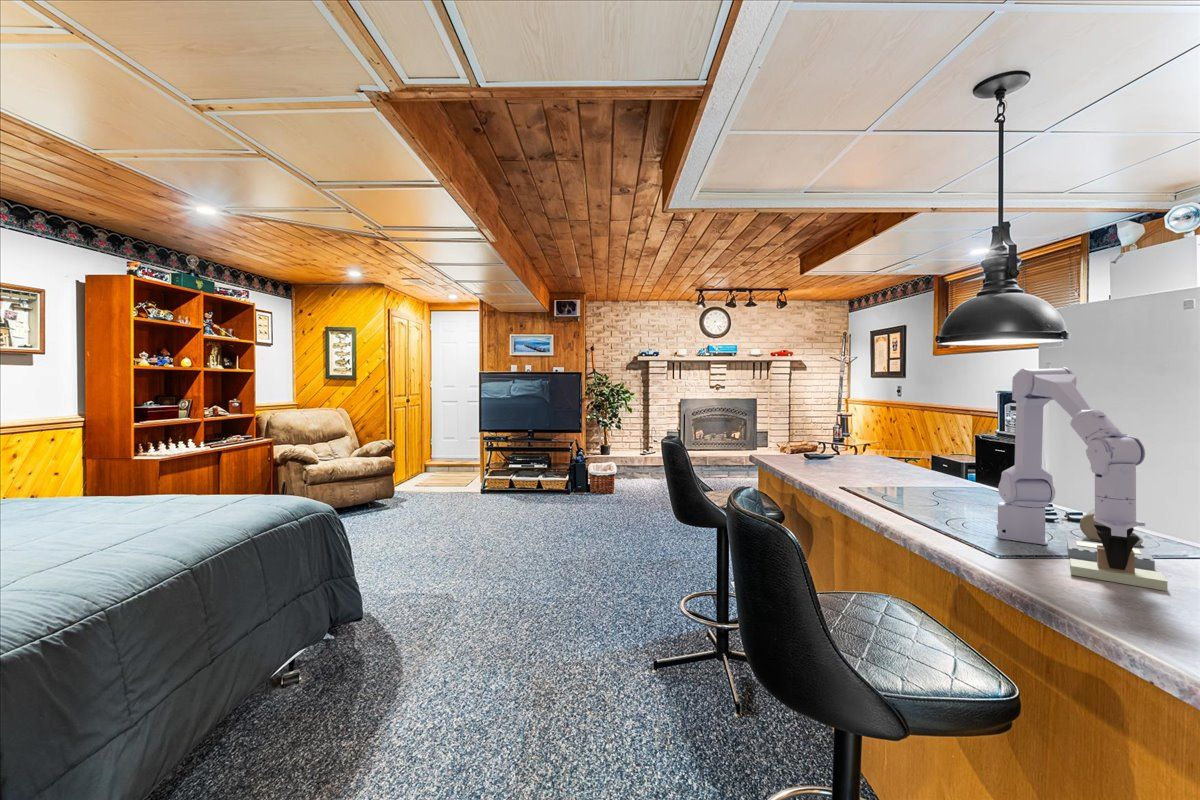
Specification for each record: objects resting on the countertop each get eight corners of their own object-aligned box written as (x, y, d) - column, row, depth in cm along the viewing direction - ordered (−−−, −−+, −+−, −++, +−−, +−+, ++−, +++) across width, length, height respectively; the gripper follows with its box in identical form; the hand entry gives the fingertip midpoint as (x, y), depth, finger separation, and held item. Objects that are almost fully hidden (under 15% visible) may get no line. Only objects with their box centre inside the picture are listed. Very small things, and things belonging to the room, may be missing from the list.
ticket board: (1068, 557, 111) (1068, 547, 111) (1067, 546, 118) (1067, 537, 118) (1154, 570, 102) (1154, 560, 102) (1147, 558, 110) (1147, 548, 110)
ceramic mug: (1077, 539, 125) (1078, 509, 124) (1086, 533, 129) (1086, 504, 129) (1138, 550, 116) (1139, 518, 116) (1146, 543, 120) (1146, 512, 120)
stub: (1071, 574, 100) (1070, 546, 100) (1070, 566, 105) (1069, 539, 105) (1167, 590, 92) (1167, 560, 92) (1161, 581, 96) (1161, 552, 96)
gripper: (1150, 506, 90) (1151, 579, 90) (1139, 493, 101) (1139, 559, 101) (1096, 501, 95) (1096, 571, 95) (1090, 489, 105) (1091, 552, 106)
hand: (1115, 564), depth 98 cm, fingers open, 6 cm apart
